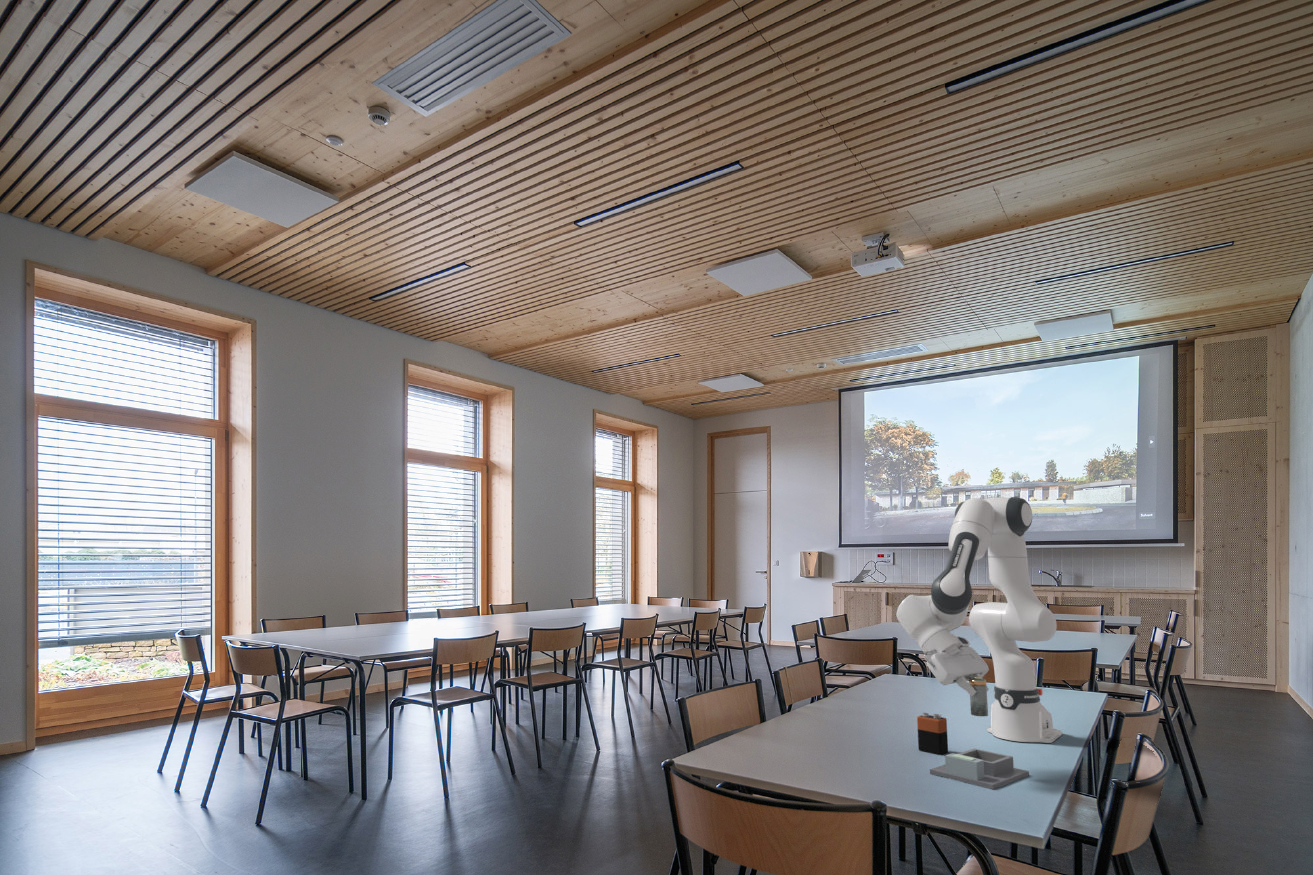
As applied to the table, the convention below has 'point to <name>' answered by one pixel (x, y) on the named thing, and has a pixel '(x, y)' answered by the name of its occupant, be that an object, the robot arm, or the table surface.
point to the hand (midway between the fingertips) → (980, 692)
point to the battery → (932, 733)
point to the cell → (979, 697)
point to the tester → (980, 768)
